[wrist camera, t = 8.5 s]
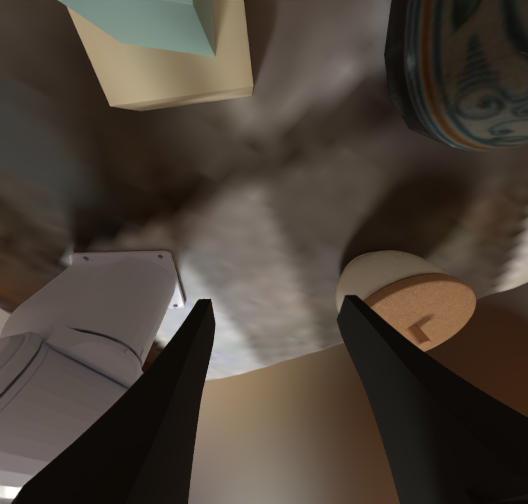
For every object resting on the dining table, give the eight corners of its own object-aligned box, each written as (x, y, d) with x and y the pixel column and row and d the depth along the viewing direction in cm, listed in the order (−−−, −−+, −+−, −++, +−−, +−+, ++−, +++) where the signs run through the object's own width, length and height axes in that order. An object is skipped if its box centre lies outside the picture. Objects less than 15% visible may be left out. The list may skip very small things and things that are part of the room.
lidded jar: (307, 265, 22) (340, 339, 15) (400, 214, 20) (502, 271, 12) (340, 314, 28) (378, 389, 20) (418, 279, 25) (497, 349, 17)
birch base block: (142, 111, 14) (110, 106, 11) (71, -82, 10) (-20, -191, 6) (251, 96, 14) (253, 86, 11) (227, -103, 10) (218, -223, 7)
